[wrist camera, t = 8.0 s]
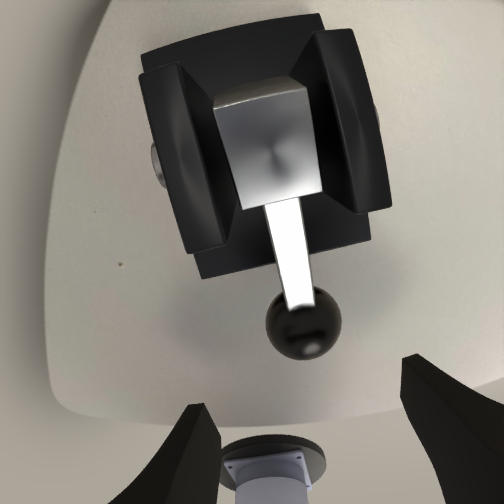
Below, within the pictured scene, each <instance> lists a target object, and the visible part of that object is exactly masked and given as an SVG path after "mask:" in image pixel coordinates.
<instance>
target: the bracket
mask: <svg viewBox="0 0 504 504" xmlns="http://www.w3.org/2000/svg"><path fill="white" fill-rule="evenodd" d="M140 57H141V61H142V66H143V70H144V73H142V74H140V75H139V78H138V79H139V83H140V87H141V92H142V96H143V100H144V104H145V109H146V113H147V117H148V121H149V125H150V129H151V133H152V136H153V140H154V142H153V143H152V146H151V158H152V163H153V167H154V171H155V173H156V176H157V178H158V180H159V182H160V184H161V185H162V186H163V187H164V188H165V189H167V191H168V195H169V198H170V202H171V205H172V208H173V212H174V215H175V218H176V222H177V225H178V228H179V231H180V235H181V238H182V241H183V244H184V247H185V250H186V252H187V254H194V257H195V260H196V264H197V267H198V270H199V273H200V276H201V279H207V278H212V277H216V276H220V275H225V274H229V273H234V272H238V271H242V270H247V269H251V268H255V267H260V266H264V265H268V264H273V263H276V260H275V256H274V252H273V248H272V244H271V240H270V235H269V231H268V227H267V223H266V219H265V215H264V211H263V207H262V206H259V207H254V208H250V209H246V210H241V209H240V205H239V202H238V199H237V195H236V192H235V188H234V185H233V182H232V178H231V175H230V171H229V168H228V165H227V161H226V158H225V154H224V151H223V147H222V144H221V141H220V137H219V134H218V130H217V127H216V124H215V120H214V117H213V114H212V103H213V96H214V92H215V91H217V90H221V89H224V88H228V87H232V86H236V85H241V84H245V83H249V82H254V81H258V80H263V79H268V78H273V77H278V76H283V75H288V76H290V77H291V78H293V79H295V80H296V81H298V82H300V83H301V84H303V85H305V86H306V87H307V88H308V91H309V97H310V102H311V108H312V114H313V120H314V126H315V132H316V138H317V145H318V152H319V159H320V166H321V173H322V181H323V192H320V193H315V194H311V195H306V196H302V197H300V200H301V206H302V212H303V218H304V224H305V231H306V237H307V244H308V250H309V255H311V254H315V253H319V252H323V251H328V250H332V249H336V248H340V247H344V246H348V245H352V244H357V243H361V242H365V241H369V240H371V233H370V225H369V218H368V212H372V211H377V210H381V209H386V208H390V207H391V206H392V199H391V192H390V185H389V178H388V172H387V166H386V160H385V155H384V149H383V144H382V139H381V134H380V124H379V117H378V113H377V110H376V107H375V105H374V103H373V99H372V95H371V91H370V87H369V83H368V79H367V76H366V72H365V68H364V65H363V61H362V58H361V55H360V51H359V48H358V45H357V42H356V39H355V36H354V33H353V30H352V29H350V28H347V29H334V30H325V28H324V25H323V22H322V19H321V17H320V14H319V13H315V14H305V15H297V16H289V17H282V18H276V19H270V20H264V21H259V22H253V23H248V24H243V25H239V26H234V27H230V28H226V29H222V30H218V31H214V32H210V33H206V34H202V35H199V36H195V37H192V38H188V39H185V40H182V41H179V42H176V43H173V44H170V45H167V46H164V47H161V48H158V49H155V50H152V51H149V52H147V53H144V54H141V56H140Z"/></svg>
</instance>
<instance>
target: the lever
mask: <svg viewBox="0 0 504 504" xmlns="http://www.w3.org/2000/svg"><path fill="white" fill-rule="evenodd" d="M212 114H213V117H214V120H215V124H216V127H217V130H218V134H219V137H220V141H221V144H222V147H223V151H224V154H225V158H226V161H227V165H228V168H229V171H230V175H231V178H232V182H233V185H234V188H235V192H236V195H237V199H238V202H239V205H240V209H241V210H246V209H250V208H254V207H259V206H262V207H263V211H264V215H265V219H266V223H267V227H268V231H269V235H270V240H271V244H272V248H273V252H274V256H275V260H276V264H277V269H278V273H279V277H280V281H281V286H282V290H283V292H281V293H280V294H279V295H278V296H277V297H276V298H275V299H274V300H273V301H272V303H271V305H270V307H269V309H268V311H267V315H266V331H267V335H268V338H269V340H270V342H271V343H272V345H273V346H274V347H275V349H276V350H277V351H278V352H280V353H281V354H283V355H284V356H286V357H288V358H291V359H294V360H312V359H315V358H318V357H320V356H322V355H323V354H325V353H326V352H328V351H329V350H330V349H331V348H332V347H333V346H334V344H335V343H336V341H337V339H338V337H339V335H340V331H341V324H342V319H341V313H340V310H339V307H338V305H337V303H336V302H335V300H334V299H333V298H332V297H331V296H330V294H328V293H327V292H326V291H324V290H323V289H321V288H318V287H316V286H313V279H312V271H311V264H310V257H309V250H308V244H307V237H306V231H305V224H304V218H303V212H302V206H301V200H300V197H302V196H306V195H311V194H315V193H320V192H323V181H322V173H321V166H320V159H319V152H318V145H317V138H316V132H315V126H314V120H313V114H312V108H311V102H310V97H309V91H308V88H307V87H306V86H305V85H303V84H301V83H300V82H298V81H296V80H295V79H293V78H291V77H290V76H288V75H283V76H278V77H273V78H268V79H263V80H258V81H254V82H249V83H245V84H241V85H236V86H232V87H228V88H224V89H221V90H217V91H215V92H214V96H213V103H212Z"/></svg>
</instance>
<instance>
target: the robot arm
mask: <svg viewBox="0 0 504 504" xmlns="http://www.w3.org/2000/svg"><path fill="white" fill-rule="evenodd" d="M400 398H401V401H402V403H403V406H404V409H405V411H406V414H407V416H408V419H409V421H410V423H411V424H412V426H413V428H414V430H415V432H416V434H417V436H418V438H419V440H420V441H421V443H422V445H423V447H424V449H425V451H426V453H427V455H428V457H429V458H430V460H431V462H432V464H433V467H434V469H435V471H436V475H437V477H438V480H439V483H440V486H441V489H442V492H443V496H444V499H445V502H446V504H504V405H503V404H501V403H499V402H496V401H494V400H492V399H489V398H487V397H485V396H483V395H481V394H479V393H478V392H476V391H474V390H472V389H470V388H469V387H467V386H465V385H464V384H462V383H460V382H459V381H457V380H456V379H454V378H452V377H451V376H449V375H448V374H446V373H445V372H443V371H442V370H440V369H439V368H438V367H436V366H435V365H433V364H432V363H430V362H429V361H428V360H426V359H425V358H423V357H422V356H420V355H419V354H414V355H411V356H408V357H405V358H402V374H401V391H400ZM224 466H225V467H226V469H227V471H228V472H229V474H230V475H231V477H232V478H233V480H234V481H235V483H236V495H235V504H308V498H307V491H311V490H312V484H311V480H310V476H309V473H308V469H307V465H306V461H305V457H304V454H303V451H302V450H294V451H289V452H283V453H277V454H271V455H264V456H257V457H249V458H241V459H231V460H225V461H224ZM220 469H221V436H220V434H219V432H218V430H217V428H216V426H215V424H214V422H213V420H212V418H211V416H210V414H209V412H208V410H207V408H206V406H205V404H204V403H199V404H190V405H188V406H187V407H186V409H185V410H184V412H183V413H182V415H181V417H180V418H179V420H178V421H177V423H176V425H175V426H174V428H173V430H172V431H171V433H170V434H169V436H168V437H167V439H166V440H165V441H164V443H163V444H162V446H161V447H160V449H159V450H158V452H157V453H156V454H155V456H154V457H153V458H152V459H151V461H150V462H149V463H148V465H147V466H146V467H145V468H144V469H143V471H142V472H141V473H140V474H139V475H138V476H137V477H136V478H135V480H134V481H133V482H132V483H131V484H130V485H129V486H128V487H127V488H126V489H124V490H123V491H122V492H121V493H120V494H119V495H118V496H117V497H115V498H114V499H113V500H112V501H111V502H109V503H108V504H216V503H217V495H218V486H219V478H220Z"/></svg>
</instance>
